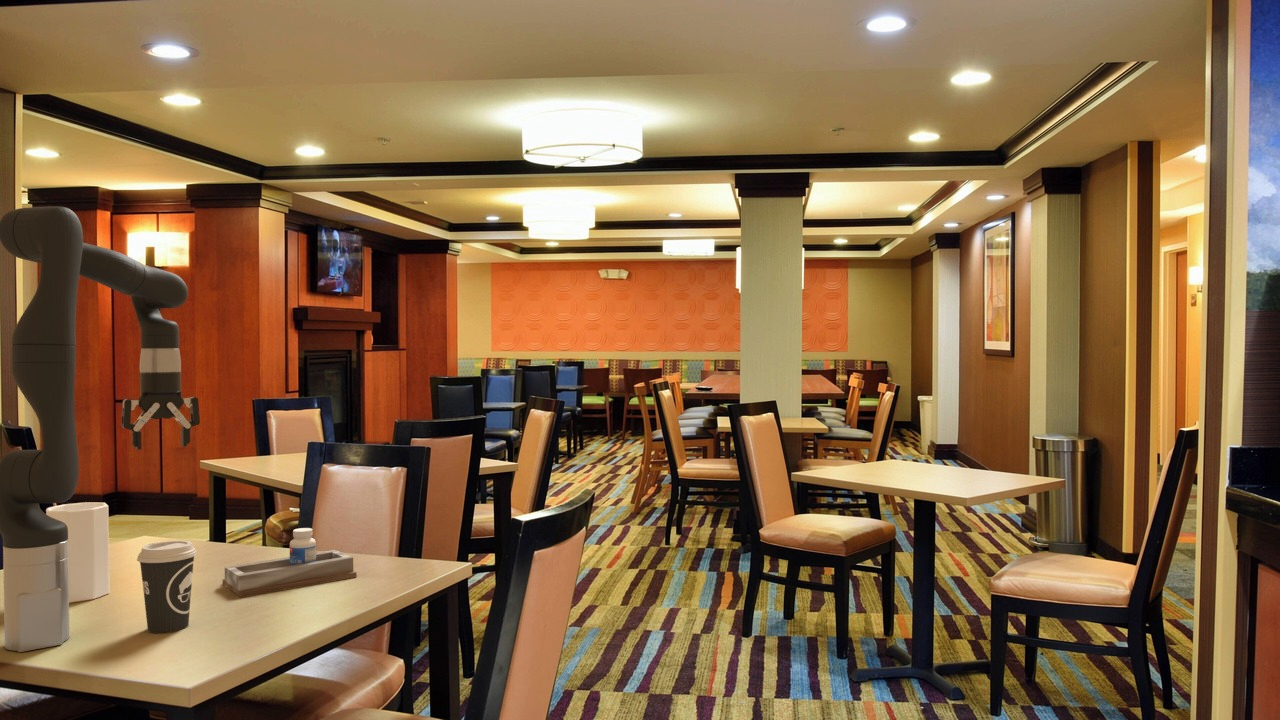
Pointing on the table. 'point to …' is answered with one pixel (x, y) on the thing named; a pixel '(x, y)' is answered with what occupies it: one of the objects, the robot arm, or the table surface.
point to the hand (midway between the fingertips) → (161, 447)
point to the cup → (86, 548)
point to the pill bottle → (302, 547)
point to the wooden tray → (287, 573)
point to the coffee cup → (167, 584)
